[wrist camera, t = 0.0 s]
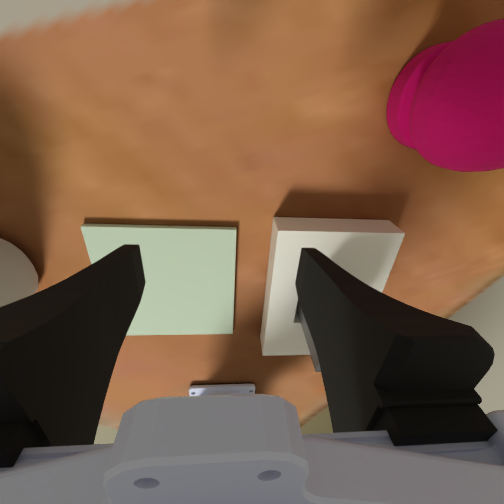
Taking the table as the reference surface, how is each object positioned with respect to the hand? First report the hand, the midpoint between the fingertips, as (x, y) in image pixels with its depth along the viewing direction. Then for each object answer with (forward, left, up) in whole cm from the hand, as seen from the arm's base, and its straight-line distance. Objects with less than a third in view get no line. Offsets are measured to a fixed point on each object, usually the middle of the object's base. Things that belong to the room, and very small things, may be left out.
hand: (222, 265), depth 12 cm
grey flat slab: (-9, -9, -10) cm, 16 cm away
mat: (-9, +5, -10) cm, 14 cm away
